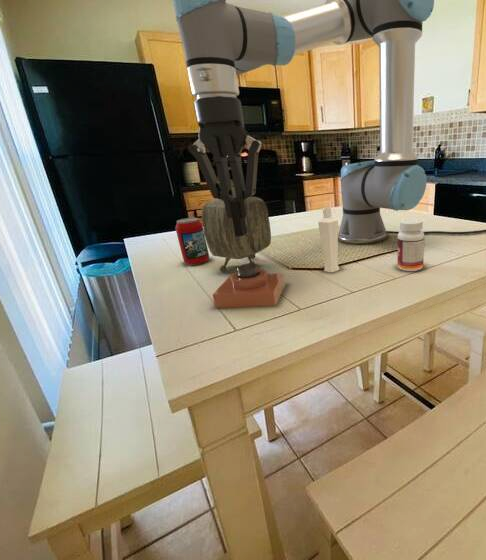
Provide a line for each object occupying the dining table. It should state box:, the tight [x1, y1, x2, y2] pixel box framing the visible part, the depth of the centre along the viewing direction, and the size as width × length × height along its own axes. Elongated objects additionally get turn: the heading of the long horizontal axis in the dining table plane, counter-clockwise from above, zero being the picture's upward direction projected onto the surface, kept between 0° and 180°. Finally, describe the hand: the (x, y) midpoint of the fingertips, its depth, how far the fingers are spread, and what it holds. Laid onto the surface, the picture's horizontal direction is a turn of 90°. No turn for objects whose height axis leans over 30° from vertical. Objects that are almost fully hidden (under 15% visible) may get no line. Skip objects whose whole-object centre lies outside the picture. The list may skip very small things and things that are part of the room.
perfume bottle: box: [317, 207, 340, 273], centre depth 80 cm, size 5×4×15 cm
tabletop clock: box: [201, 166, 272, 273], centre depth 84 cm, size 14×9×25 cm, turn 151°
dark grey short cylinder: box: [236, 263, 259, 278], centre depth 69 cm, size 4×4×2 cm
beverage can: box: [175, 217, 210, 266], centre depth 93 cm, size 7×7×12 cm
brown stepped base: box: [212, 267, 286, 309], centre depth 70 cm, size 12×10×5 cm
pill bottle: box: [397, 218, 425, 272], centre depth 79 cm, size 6×6×11 cm
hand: (241, 234), depth 66 cm, fingers closed
